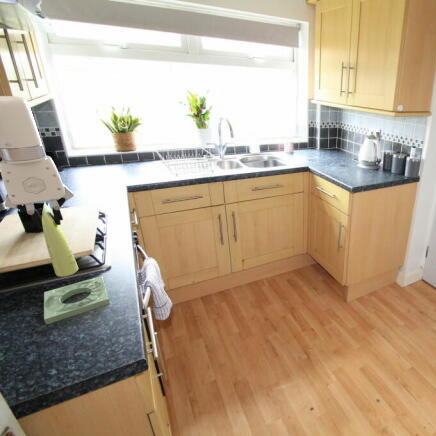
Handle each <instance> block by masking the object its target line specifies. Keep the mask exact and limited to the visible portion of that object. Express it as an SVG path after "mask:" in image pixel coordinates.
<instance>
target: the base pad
mask: <svg viewBox="0 0 436 436" xmlns="http://www.w3.org/2000/svg"><path fill="white" fill-rule="evenodd" d="M83 293H88V294H89V293H90V294H89V295H88V296H87V297H85V298H84V299H81V300H79V301H77V302H73V303H72V302H71V303H64V302H65V301H66V300H67V299H69V298H71V297H72V296H74V295H78V294H83ZM110 303H111V302H110V299H109V296H108V291H107V287H106V283H105V281H104V277H103V275H100V276H96V277H93V278H89V279H86V280H82V281H79V282H75V283H71V284H68V285H65V286H61V287H58V288H54V289H49V290H48V291H44V292H43V321H44V323H45V325H50V324H53V323H56V322H59V321H62V320H65V319H68V318H71V317H74V316H78V315H80V314H83V313H86V312H88V311H92V310H95V309H98V308H100V307H104V306H107V305H110Z"/></svg>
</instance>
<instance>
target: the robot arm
mask: <svg viewBox="0 0 436 436" xmlns="http://www.w3.org/2000/svg"><path fill="white" fill-rule="evenodd" d="M0 159H1V161H0V175H1V178H2V182H3V185H4V188H5V191H6V193H7V195H6V198H5V202H4V207H5V208H9V209H17V210H19V211H22V212H24V213H26V214H28V215H30V217H31V220H32V222H33V225H34V226H37V227H38V229H39V230H41V229H42V230H43V226H42V216H41V215H40V212H39V210H37V208H35V205H34V204H35V203H36V204H37V203H42V202H48V201H50V203H51V206H52V207H51V208H52V209H51V211H52V213H53V215H54V218H55V221H56V223H57V225H60V226H61V225H62V223H61V221H63V220H64V217H63V214H62V212H61V208H62V207H63V205H64V204H65V203H66V202H67V201H69V200H70V199H72V198H74V196H75V194H74V192H73V191H72V190H70V188H68V187H67V186H66V185H65V184H64V183H63V180H62V177H61V175H60V172H59V170H58V168H57V165H56V164H55V162H54V160H53V159H52V157H51V156H49V155H47V154H46V150H45V147H44V145H43V142H42V139H41V136H40V133H39V130H38V127H37V124H36V121H35V118H34V116H33V112H32V109H31V106H30V104H29V102H28V101H27V99H25V98H23V97H21V96H16V95H15V96H14V95H0Z"/></svg>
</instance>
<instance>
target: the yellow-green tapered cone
mask: <svg viewBox="0 0 436 436" xmlns="http://www.w3.org/2000/svg"><path fill="white" fill-rule="evenodd" d="M42 208H43V209H42V214H41V219H42V226H43V228H42V231H43V237H44V241H45V245H46V249H47V252H48V255H49V258H50V261H51V264H52V267H53V270H54V274H55V275H56V276H57V277H60V278H62V277H68V276H71V275H74V274H76V272H78V270H79V266H78V264H77V261H76V258H75V256H74V254H73V250H72V248H71V246H70V244H69V242H68V239H67V237H66V235H65V233H64V231H63V229H62V227H61V225H57V223H56V221H55V218H54V215H53V212H52V209H50V207H49V206H48V205H47V203H46V201H43V207H42Z"/></svg>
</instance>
